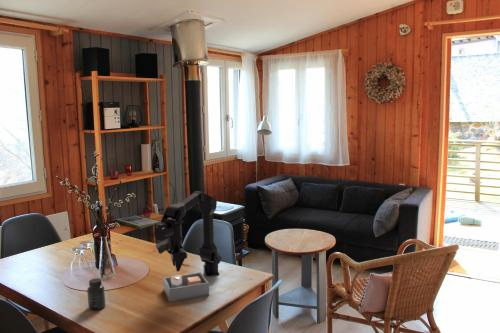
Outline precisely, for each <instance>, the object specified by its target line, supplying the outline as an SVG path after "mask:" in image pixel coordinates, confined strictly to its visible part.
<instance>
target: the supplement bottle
mask: <svg viewBox="0 0 500 333" xmlns="http://www.w3.org/2000/svg"><path fill="white" fill-rule="evenodd" d="M86 291H87V292H86V294H87V306H88V309H89V310H90V311H91V312H93V311H95V312H97V311H101V310H103V309H104V308H105V307H106V296H105V295H106V294H105V293H106V292H105V286H104V285H103V284H102V278H98V277H97V278H96V277H95V278H91V279H90V280H89V281H88V287H87V290H86Z"/></svg>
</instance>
